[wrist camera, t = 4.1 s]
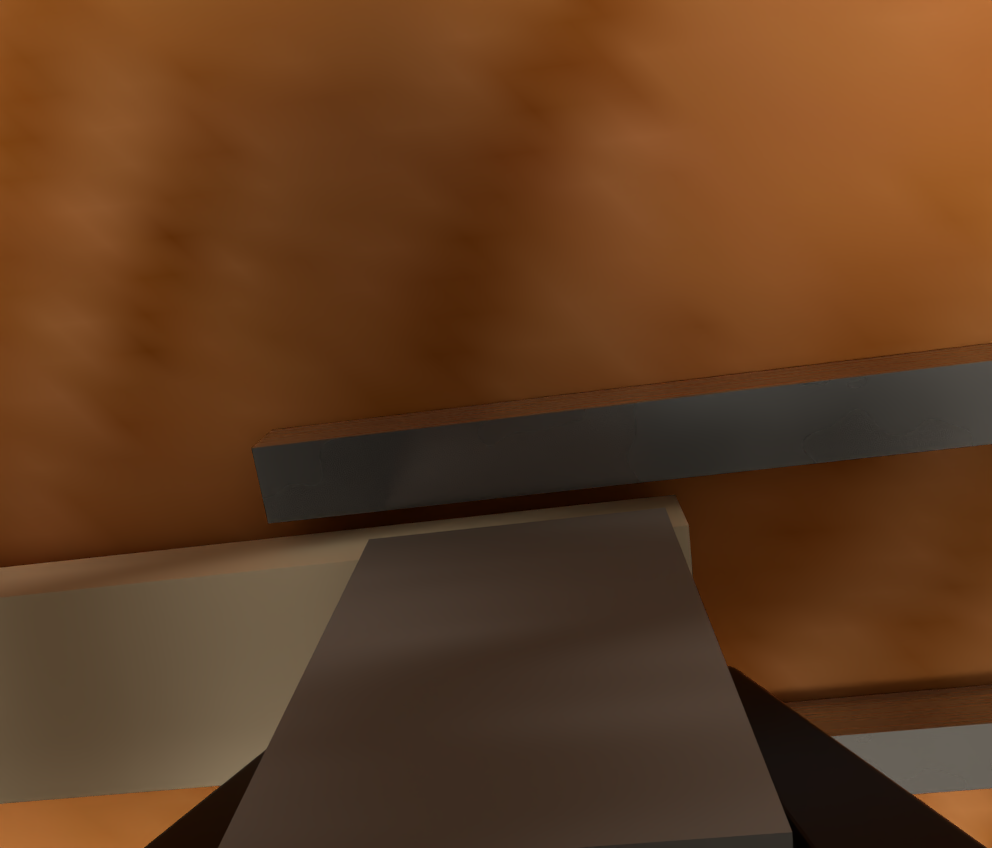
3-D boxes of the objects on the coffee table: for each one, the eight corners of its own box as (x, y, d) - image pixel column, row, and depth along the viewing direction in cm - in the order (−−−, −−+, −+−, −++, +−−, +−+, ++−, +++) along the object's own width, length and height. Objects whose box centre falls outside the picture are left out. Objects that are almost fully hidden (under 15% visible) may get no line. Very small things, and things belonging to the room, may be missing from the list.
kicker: (643, 124, 9) (812, 17, 4) (713, 955, 13) (862, 1612, 7) (-527, 295, 11) (-1789, 424, 5) (-195, 1010, 14) (-720, 1598, 8)
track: (1334, 302, 10) (1402, 311, 9) (1277, 723, 11) (1330, 762, 11) (271, 429, 11) (251, 447, 10) (351, 797, 12) (338, 837, 12)
